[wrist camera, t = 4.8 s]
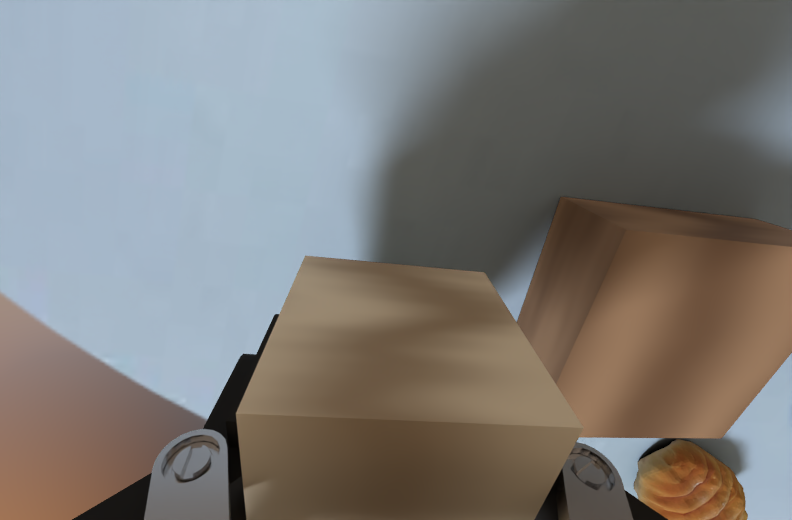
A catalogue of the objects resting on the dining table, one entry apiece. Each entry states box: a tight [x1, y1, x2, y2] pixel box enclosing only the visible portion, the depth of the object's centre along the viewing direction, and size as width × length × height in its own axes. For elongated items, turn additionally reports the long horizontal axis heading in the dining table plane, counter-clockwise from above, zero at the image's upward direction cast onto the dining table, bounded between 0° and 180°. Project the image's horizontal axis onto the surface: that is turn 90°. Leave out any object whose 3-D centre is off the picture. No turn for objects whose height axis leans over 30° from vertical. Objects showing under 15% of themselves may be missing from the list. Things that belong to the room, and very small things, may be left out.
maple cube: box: [236, 256, 584, 520], centre depth 10 cm, size 6×6×6 cm
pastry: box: [634, 439, 748, 520], centre depth 23 cm, size 9×7×4 cm
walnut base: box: [517, 197, 792, 438], centre depth 15 cm, size 10×10×4 cm
